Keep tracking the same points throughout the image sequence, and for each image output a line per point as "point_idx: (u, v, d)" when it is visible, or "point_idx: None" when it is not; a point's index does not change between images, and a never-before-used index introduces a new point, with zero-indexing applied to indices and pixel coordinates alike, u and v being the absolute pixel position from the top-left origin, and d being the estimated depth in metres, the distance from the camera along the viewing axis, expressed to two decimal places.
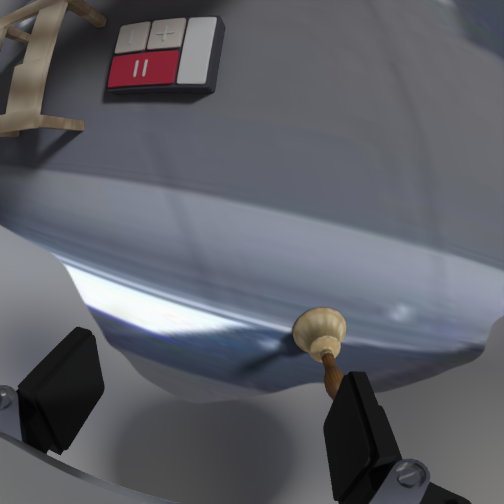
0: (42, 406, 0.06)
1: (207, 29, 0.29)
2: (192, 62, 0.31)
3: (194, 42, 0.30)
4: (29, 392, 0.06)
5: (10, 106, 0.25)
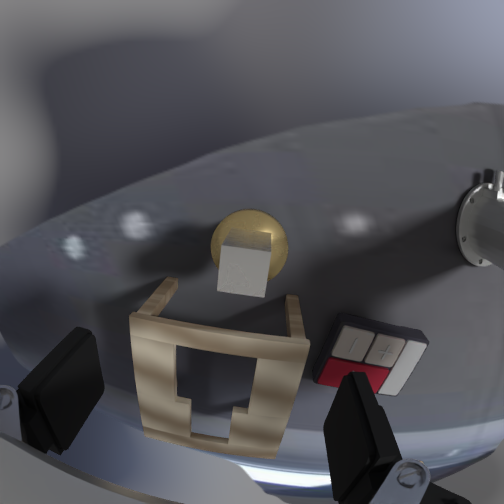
0: (42, 406, 0.06)
1: (416, 354, 0.37)
2: (394, 380, 0.38)
3: (403, 365, 0.37)
4: (29, 392, 0.06)
5: (236, 441, 0.32)
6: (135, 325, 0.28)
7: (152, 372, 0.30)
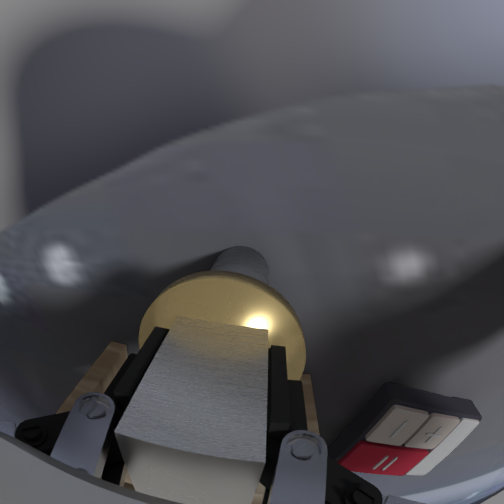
0: None
1: (464, 433, 0.22)
2: (429, 460, 0.23)
3: (446, 445, 0.22)
4: (129, 396, 0.07)
5: None
6: None
7: None
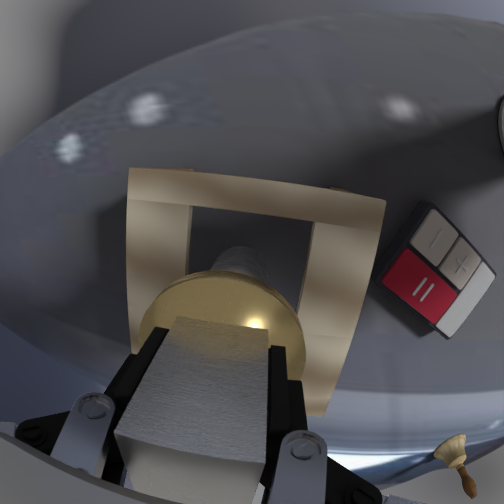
0: None
1: (484, 285, 0.29)
2: (456, 313, 0.30)
3: (470, 293, 0.29)
4: (129, 396, 0.07)
5: None
6: (136, 181, 0.20)
7: (153, 263, 0.21)
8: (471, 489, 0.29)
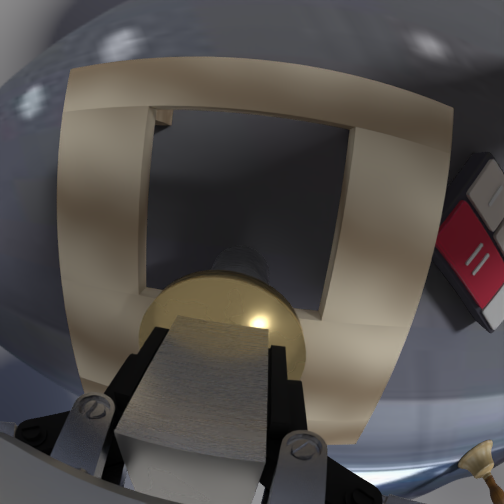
0: None
1: None
2: None
3: None
4: (129, 396, 0.07)
5: None
6: (77, 85, 0.11)
7: (91, 207, 0.12)
8: (501, 500, 0.20)
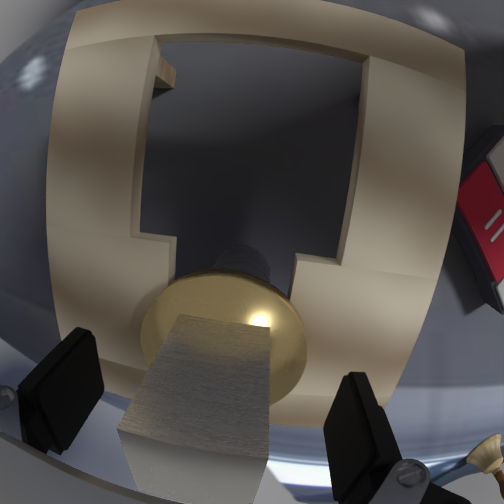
0: (42, 406, 0.06)
1: None
2: None
3: None
4: (29, 392, 0.06)
5: None
6: (82, 24, 0.09)
7: (85, 140, 0.10)
8: None
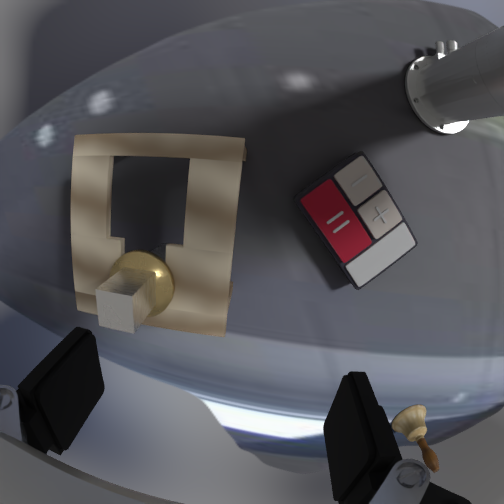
0: (42, 406, 0.06)
1: (402, 247, 0.36)
2: (368, 262, 0.37)
3: (386, 248, 0.37)
4: (29, 392, 0.06)
5: (174, 302, 0.30)
6: (78, 143, 0.26)
7: (87, 199, 0.27)
8: (432, 462, 0.36)
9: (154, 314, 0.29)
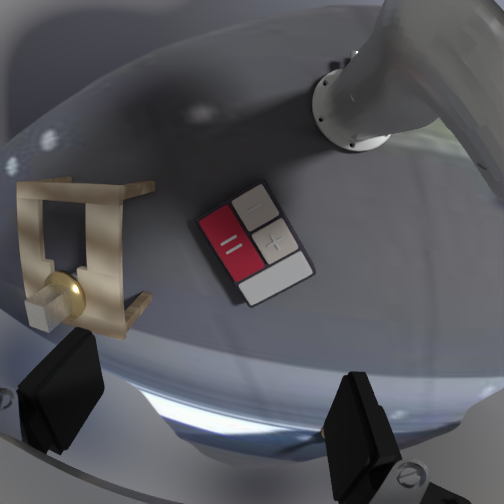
0: (42, 406, 0.06)
1: (297, 274, 0.41)
2: (261, 284, 0.42)
3: (279, 274, 0.41)
4: (29, 392, 0.06)
5: (86, 310, 0.35)
6: (19, 188, 0.31)
7: (27, 231, 0.33)
8: None
9: (73, 318, 0.35)
